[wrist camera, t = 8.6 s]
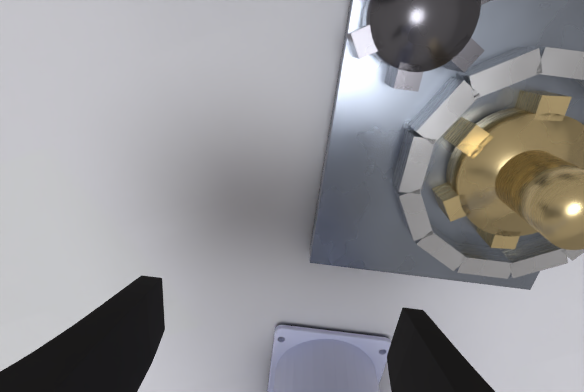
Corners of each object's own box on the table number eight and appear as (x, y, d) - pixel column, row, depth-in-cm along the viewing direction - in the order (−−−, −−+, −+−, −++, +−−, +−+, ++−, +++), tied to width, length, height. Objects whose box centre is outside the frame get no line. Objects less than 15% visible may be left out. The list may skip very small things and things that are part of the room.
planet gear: (553, 236, 18) (637, 303, 14) (422, 228, 19) (461, 292, 14) (612, 94, 15) (747, 118, 11) (455, 86, 16) (519, 107, 11)
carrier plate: (542, 279, 21) (580, 318, 18) (308, 251, 21) (308, 284, 18) (702, -24, 14) (801, -40, 11) (359, -68, 14) (372, -96, 11)
